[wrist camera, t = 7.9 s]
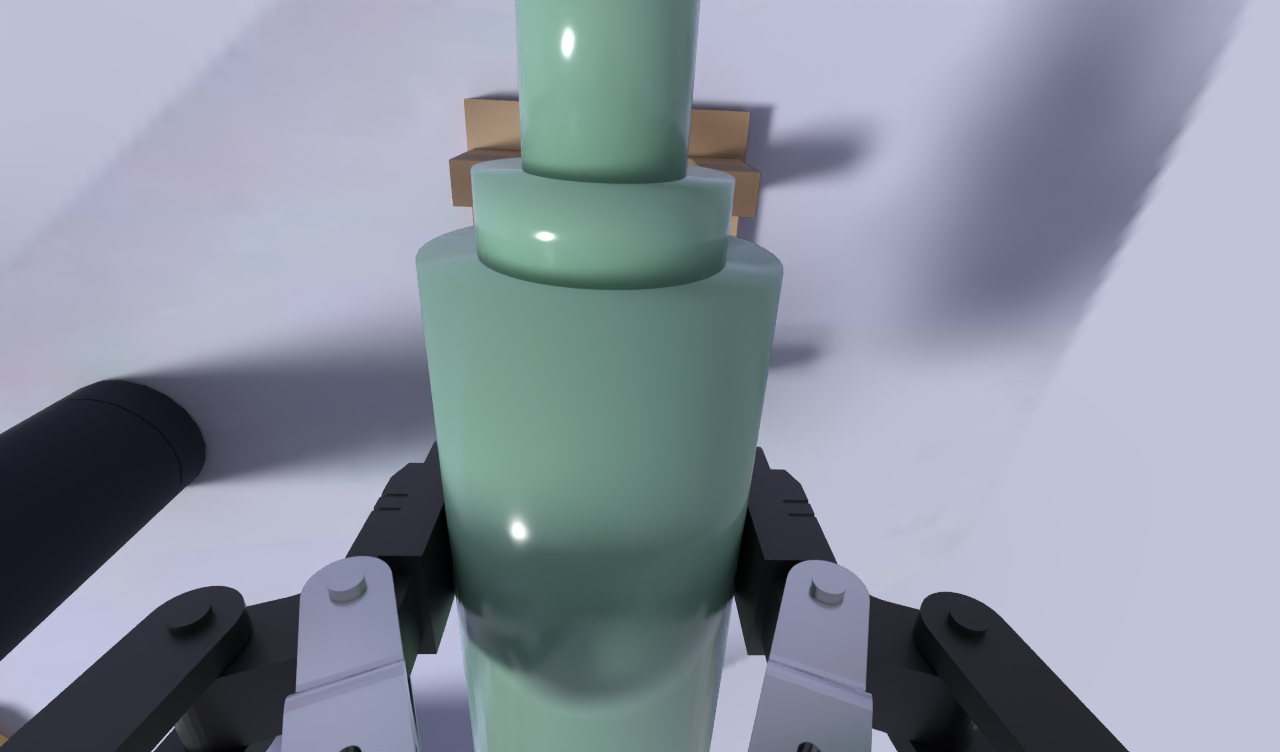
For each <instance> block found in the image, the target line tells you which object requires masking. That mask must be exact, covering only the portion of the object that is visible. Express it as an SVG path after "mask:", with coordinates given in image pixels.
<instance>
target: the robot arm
mask: <svg viewBox="0 0 1280 752" xmlns="http://www.w3.org/2000/svg"><path fill="white" fill-rule="evenodd" d="M454 597H455V586H454V578H453V569H452V561H451V553H450V544H449V536H448V527H447V519H446V511H445V502H444V494H443V486H442V477H441V469H440V461H439V452H438V444H437V441H435V442H434V444H433V446H432V448H431V450H430V452H429V454H428V456H427V458H426V460H425V462H424V463H409V464H407V465H406V466H405V467H403V468H402V469H401V470H400V471H398V472H397V473H396V474H395V475H393V476H392V477H391V478H390V480H389V482H388V484H387V485H386V487H385V489H384V491H383V492H382V497H380V498H379V499H378V501H377V503H376V505H375V506H374V511H372V512H371V513H370V515H369V517H368V519H367V520H366V522H365V524H364V526H363V528H362V529H361V531H360V533H359V535H358V536H357V538H356V540H355V542H354V543H353V545H352V547H351V549H350V550H349V552H348V554H347V556H346V557H345V559H342V560H338V561H336V562H334V563H331V564H329V565H327V566H325V567H324V568H322V569H321V570H319V571H318V572H316V573H315V574H314V575H313V576H312V577H311V578H310V579H309V580H308V581H307V582H306V584H305V585H304V587H303V589H302V592H301V593H300V594H297V595H294V596H290V597H287V598H282V599H278V600H274V601H269V602H265V603H260V604H256V605H252V606H247V607H246V605H245V602H244V599H243V597H242V595H241V594H240V593H239V592H238V591H237V590H235V589H233V588H230V587H226V586H209V587H203V588H199V589H195V590H191V591H189V592H186V593H183V594H181V595H179V596H176V597H174V598H172V599H171V600H169V601H167V602H165V603H164V604H162V605H161V606H159V607H158V608H157V609H155V610H154V611H153V612H152V613H150V614H149V615H148V616H147V617H146V618H145V619H144V620H142V621H141V622H140V623H139V624H138V625H137V626H136V627H135V628H133V629H132V630H131V631H130V632H129V633H128V634H127V635H126V636H124V637H123V638H122V639H121V640H120V641H119V642H118V643H117V644H115V645H114V646H113V647H112V648H111V649H110V650H109V651H108V652H106V653H105V654H104V655H103V656H102V657H101V658H100V659H99V660H97V661H96V662H95V663H94V664H93V665H92V666H91V667H90V668H88V669H87V670H86V671H85V672H84V673H83V674H82V675H81V676H79V677H78V678H77V679H76V680H75V681H74V682H73V683H72V684H70V685H69V686H68V687H67V688H66V689H65V690H64V691H63V692H61V693H60V694H59V695H58V696H57V697H56V698H55V699H54V700H52V701H51V702H50V703H49V704H48V705H47V706H46V707H45V708H43V709H42V710H41V711H40V712H39V713H38V714H37V715H35V716H34V717H33V718H32V719H31V720H30V721H29V722H28V723H26V724H25V725H24V726H23V727H22V728H21V729H20V730H19V731H17V732H16V733H15V734H14V735H13V736H12V737H11V738H10V739H8V740H7V741H6V742H5V743H4V744H3V745H2V746H1V747H0V752H151V751H152V750H153V749H154V748H155V746H156V745H157V744H158V743H159V742H160V741H161V740H162V739H163V738H164V736H165V735H166V734H167V733H168V732H169V731H170V730H171V729H172V727H173V726H174V727H175V728H174V729H173V731H172V732H171V733H170V734H169V735H168V736H167V737H166V738H165V740H164V741H163V742H162V743H161V744H160V745H159V746H158V747H157V749H156V750H155V751H154V752H422V751H421V744H420V737H419V730H418V723H417V716H416V709H415V702H414V695H413V688H412V682H411V676H410V674H411V672H412V669H413V666H414V663H415V660H416V657H417V654H437V651H438V648H439V645H440V641H441V638H442V635H443V632H444V629H445V625H446V622H447V619H448V616H449V613H450V610H451V606H452V603H453V600H454ZM734 597H735V601H736V606H737V610H738V614H739V619H740V623H741V627H742V632H743V636H744V641H745V645H746V649H747V654H748V655H765V656H766V660H767V669H766V673H765V677H764V682H763V686H762V691H761V695H760V700H759V704H758V709H757V713H756V718H755V722H754V727H753V731H752V736H751V741H750V745H749V749H748V752H871V742H872V728H873V729H876V730H879V731H883V732H886V733H887V734H888V736H889V738H890V740H891V742H892V743H893V745H894V746H895V748H896V750H897V751H898V752H1129V751H1128V750H1127V749H1126V748H1125V747H1124V746H1123V745H1122V744H1121V743H1120V742H1119V741H1118V740H1117V739H1116V737H1115V736H1114V735H1113V734H1112V733H1111V732H1110V731H1109V730H1108V729H1107V728H1106V727H1105V726H1104V725H1103V724H1102V723H1101V722H1100V721H1099V720H1098V718H1096V716H1095V715H1094V714H1093V713H1092V712H1091V711H1090V710H1089V709H1088V708H1087V707H1086V706H1085V705H1084V704H1083V703H1082V702H1081V701H1080V700H1079V699H1078V697H1077V696H1076V695H1074V693H1073V692H1072V691H1071V690H1070V689H1069V688H1068V687H1067V686H1066V685H1065V684H1064V683H1063V682H1062V681H1061V680H1060V678H1059V677H1058V676H1057V675H1056V674H1055V673H1054V672H1053V671H1052V670H1051V669H1050V668H1049V667H1048V666H1047V665H1046V664H1045V663H1044V662H1043V661H1042V660H1041V659H1040V657H1039V656H1038V655H1037V654H1036V653H1035V652H1034V651H1033V650H1032V649H1031V648H1030V647H1029V646H1028V645H1027V644H1026V643H1025V642H1024V641H1023V640H1022V638H1021V637H1020V636H1019V635H1018V634H1017V633H1016V632H1015V631H1014V630H1013V629H1012V628H1011V627H1010V626H1009V625H1008V624H1007V623H1006V622H1005V621H1004V620H1003V618H1002V617H1000V616H999V615H998V614H997V613H996V612H995V611H994V610H992V609H991V608H990V607H988V606H986V605H985V604H983V603H982V602H980V601H978V600H976V599H974V598H971V597H969V596H966V595H962V594H959V593H953V592H938V593H934V594H931V595H929V596H928V597H926V598H925V599H924V601H923V602H922V604H921V607H920V610H918V609H914V608H910V607H907V606H902V605H899V604H895V603H891V602H887V601H884V600H881V599H878V598H875V597H873V596H871V595H869V593H868V590H867V588H866V586H865V585H864V584H863V582H862V581H861V580H860V579H859V578H858V577H857V576H856V575H855V574H854V573H852V572H851V571H849V570H848V569H846V568H844V567H842V566H840V565H838V564H837V562H836V560H835V557H834V555H833V553H832V551H831V549H830V547H829V544H828V542H827V540H826V538H825V536H824V534H823V531H822V529H821V527H820V525H819V523H818V521H817V518H816V517H814V512H813V510H812V508H811V505H810V504H808V499H807V497H806V494H805V492H804V490H803V488H802V486H801V484H800V483H799V482H798V481H797V480H796V479H795V478H793V477H792V476H791V475H790V474H789V473H788V472H787V471H786V470H775V469H770V467H769V465H768V462H767V460H766V457H765V455H764V452H763V450H762V448H761V447H756V453H755V460H754V466H753V473H752V479H751V486H750V492H749V499H748V505H747V512H746V518H745V525H744V531H743V538H742V544H741V551H740V557H739V563H738V570H737V576H736V583H735V589H734Z"/></svg>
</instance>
